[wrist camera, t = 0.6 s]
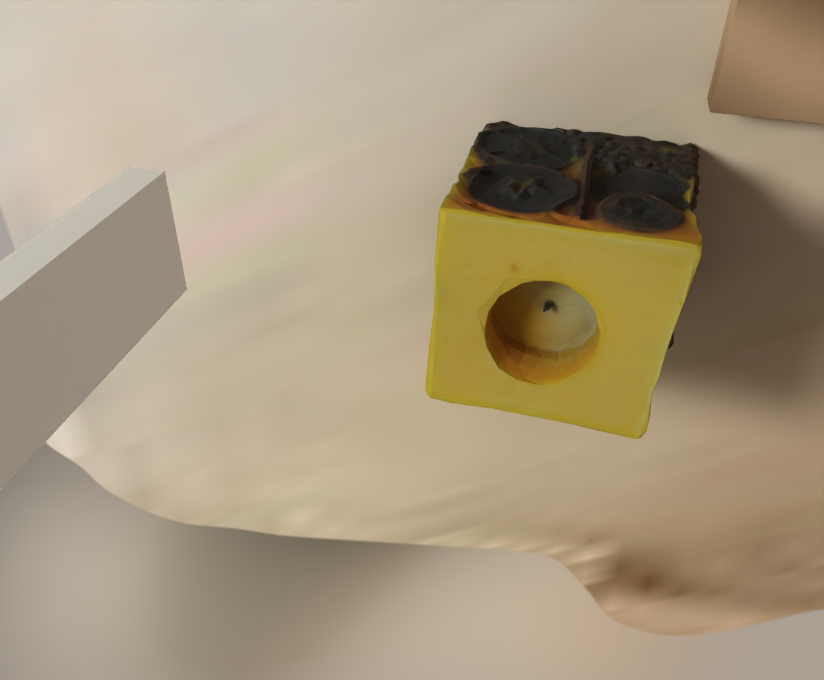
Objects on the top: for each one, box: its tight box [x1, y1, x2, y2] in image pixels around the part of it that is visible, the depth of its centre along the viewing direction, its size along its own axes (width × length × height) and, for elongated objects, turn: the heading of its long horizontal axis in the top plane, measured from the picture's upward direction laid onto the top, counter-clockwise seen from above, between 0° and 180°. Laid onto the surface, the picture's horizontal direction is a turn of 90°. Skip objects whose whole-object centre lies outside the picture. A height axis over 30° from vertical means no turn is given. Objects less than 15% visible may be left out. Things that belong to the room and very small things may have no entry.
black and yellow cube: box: [426, 121, 702, 439], centre depth 35 cm, size 10×10×10 cm
